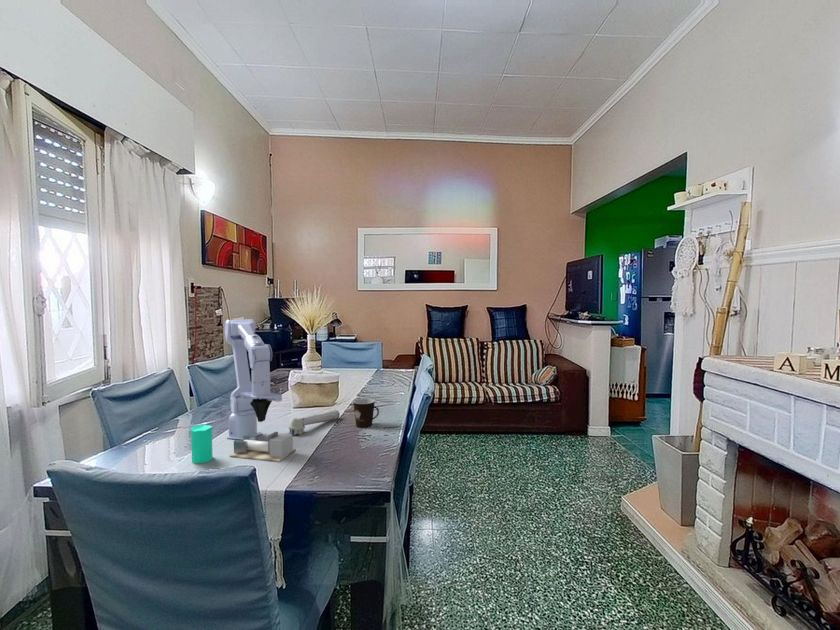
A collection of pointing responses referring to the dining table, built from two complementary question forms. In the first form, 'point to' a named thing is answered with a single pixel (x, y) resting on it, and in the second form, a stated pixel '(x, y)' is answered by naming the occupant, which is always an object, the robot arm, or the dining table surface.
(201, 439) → the candle
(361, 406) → the coffee mug
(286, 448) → the socket
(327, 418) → the grey capped rod
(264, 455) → the board
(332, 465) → the dining table surface
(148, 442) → the dining table surface
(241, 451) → the grey parallel plates
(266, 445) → the tube
